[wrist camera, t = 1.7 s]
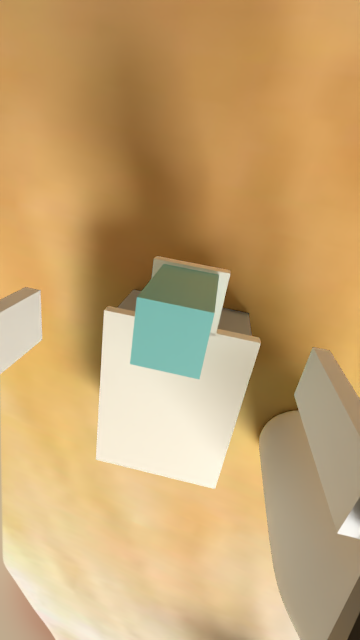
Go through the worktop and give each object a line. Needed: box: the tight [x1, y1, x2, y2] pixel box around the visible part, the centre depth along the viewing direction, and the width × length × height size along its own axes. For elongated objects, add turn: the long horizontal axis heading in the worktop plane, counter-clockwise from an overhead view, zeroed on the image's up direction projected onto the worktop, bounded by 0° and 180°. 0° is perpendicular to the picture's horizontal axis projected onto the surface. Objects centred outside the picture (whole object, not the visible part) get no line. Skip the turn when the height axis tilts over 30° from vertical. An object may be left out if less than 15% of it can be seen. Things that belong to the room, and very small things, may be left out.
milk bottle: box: [259, 410, 360, 640], centre depth 21 cm, size 8×8×20 cm
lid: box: [96, 256, 261, 489], centre depth 21 cm, size 19×11×7 cm, turn 171°
